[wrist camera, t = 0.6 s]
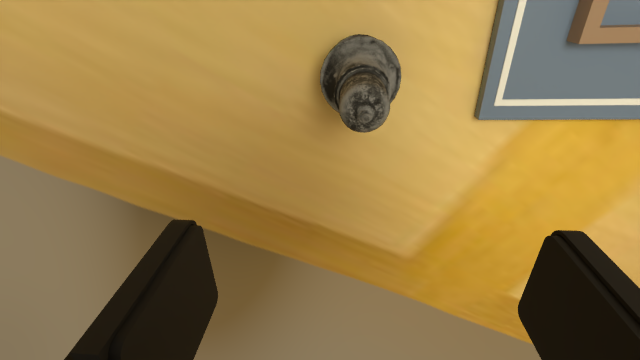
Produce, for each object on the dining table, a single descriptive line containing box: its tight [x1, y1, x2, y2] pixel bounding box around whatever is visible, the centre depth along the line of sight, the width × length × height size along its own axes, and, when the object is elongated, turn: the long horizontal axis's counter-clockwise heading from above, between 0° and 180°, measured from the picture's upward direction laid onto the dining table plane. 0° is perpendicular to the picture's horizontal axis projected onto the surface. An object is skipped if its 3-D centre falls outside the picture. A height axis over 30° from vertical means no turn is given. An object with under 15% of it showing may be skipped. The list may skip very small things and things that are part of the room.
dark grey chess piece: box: [320, 34, 401, 133], centre depth 22 cm, size 6×6×12 cm
